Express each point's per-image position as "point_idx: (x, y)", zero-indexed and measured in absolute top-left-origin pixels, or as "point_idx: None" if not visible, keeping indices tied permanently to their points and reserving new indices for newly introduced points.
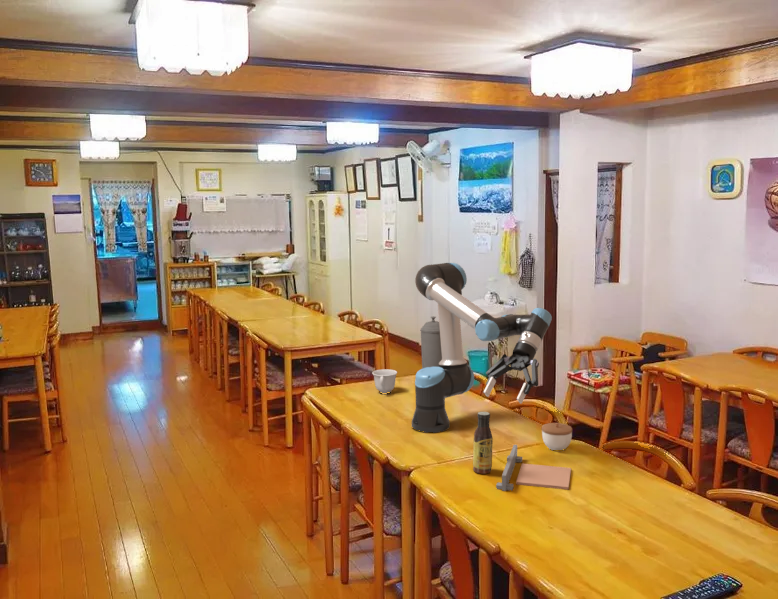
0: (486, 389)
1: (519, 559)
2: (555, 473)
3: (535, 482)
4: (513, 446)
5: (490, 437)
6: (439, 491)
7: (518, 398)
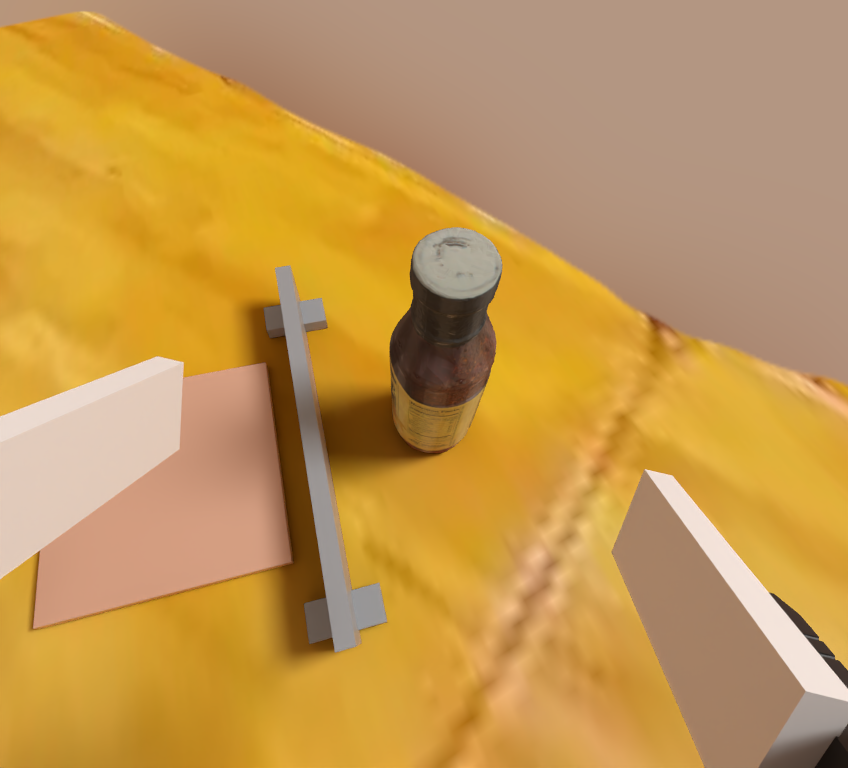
0: (664, 494)
1: (170, 57)
2: (114, 515)
3: (190, 387)
4: (347, 611)
5: (393, 334)
6: (476, 229)
7: (154, 359)
